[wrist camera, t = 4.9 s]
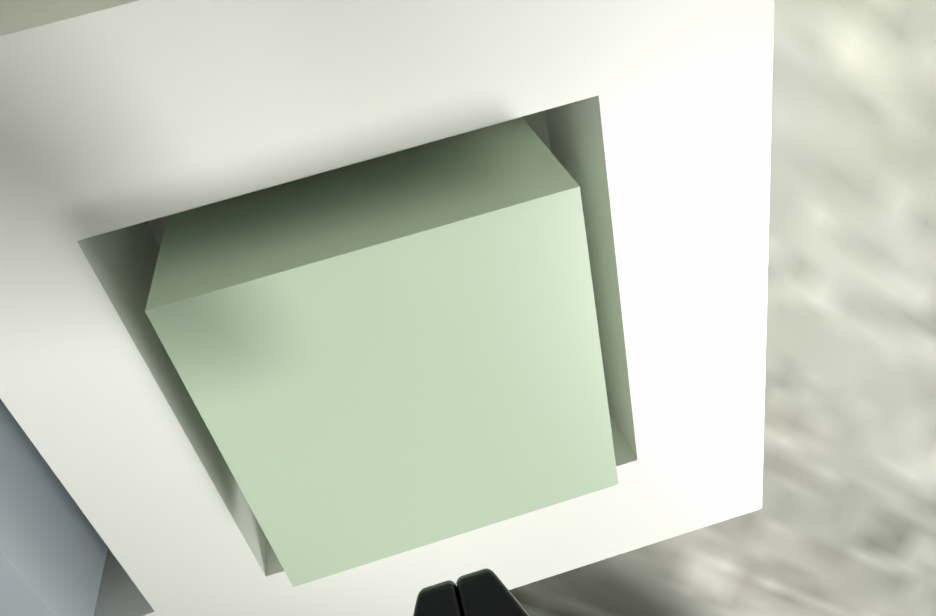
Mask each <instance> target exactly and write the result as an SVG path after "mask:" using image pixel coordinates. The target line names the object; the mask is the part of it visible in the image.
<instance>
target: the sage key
mask: <svg viewBox="0 0 936 616" xmlns="http://www.w3.org/2000/svg"><path fill="white" fill-rule="evenodd" d="M145 312H146V314H147V316H148V318H149V320H150V322H151V324H152V325H153V327H154V329H155V331H156V333H157V335H158V337H159V338H160V340H161V342H162V344H163V346H164V348H165V350H166V352H167V353H168V355H169V357H170V359H171V361H172V363H173V365H174V366H175V368H176V370H177V372H178V374H179V376H180V378H181V379H182V381H183V383H184V385H185V387H186V389H187V391H188V392H189V394H190V396H191V398H192V400H193V402H194V404H195V405H196V407H197V409H198V411H199V413H200V415H201V417H202V418H203V420H204V422H205V424H206V426H207V428H208V430H209V432H210V433H211V435H212V437H213V439H214V441H215V443H216V445H217V446H218V448H219V450H220V452H221V454H222V456H223V458H224V459H225V461H226V463H227V465H228V467H229V469H230V471H231V472H232V474H233V476H234V478H235V480H236V482H237V484H238V485H239V487H240V489H241V491H242V493H243V495H244V497H245V498H246V500H247V502H248V504H249V506H250V508H251V510H252V512H253V513H254V515H255V517H256V519H257V521H258V523H259V525H260V526H261V528H262V530H263V532H264V534H265V536H266V538H267V539H268V541H269V543H270V545H271V547H272V549H273V551H274V552H275V554H276V556H277V558H278V560H279V562H280V564H281V565H282V567H283V569H284V571H285V573H286V575H287V577H288V578H289V580H290V582H291V584H292V586H293V587H295V586H298V585H302V584H305V583H308V582H311V581H314V580H317V579H320V578H324V577H327V576H330V575H333V574H336V573H339V572H343V571H346V570H349V569H352V568H355V567H358V566H362V565H365V564H368V563H371V562H374V561H377V560H381V559H384V558H387V557H390V556H393V555H396V554H400V553H403V552H406V551H409V550H412V549H415V548H419V547H422V546H425V545H428V544H431V543H434V542H438V541H441V540H444V539H447V538H450V537H453V536H457V535H460V534H463V533H466V532H469V531H472V530H476V529H479V528H482V527H485V526H488V525H491V524H495V523H498V522H501V521H504V520H507V519H510V518H513V517H517V516H520V515H523V514H526V513H529V512H532V511H536V510H539V509H542V508H545V507H548V506H551V505H555V504H558V503H561V502H564V501H567V500H570V499H574V498H577V497H580V496H583V495H586V494H589V493H593V492H596V491H599V490H602V489H605V488H608V487H612V486H615V485H618V477H617V469H616V461H615V454H614V446H613V438H612V430H611V423H610V415H609V407H608V400H607V392H606V384H605V377H604V369H603V361H602V353H601V346H600V338H599V330H598V323H597V315H596V307H595V299H594V292H593V284H592V276H591V269H590V261H589V253H588V245H587V238H586V230H585V222H584V215H583V207H582V199H581V192H580V186H579V185H578V184H577V182H576V181H575V180H574V179H573V178H572V176H571V175H570V174H569V173H568V172H567V170H566V169H565V168H564V167H563V166H562V164H561V163H560V162H559V161H558V160H557V159H556V157H555V156H554V155H553V154H552V153H551V151H550V150H549V149H548V148H547V147H546V145H545V144H544V143H543V142H542V141H541V139H540V138H539V137H538V136H537V135H536V133H535V132H534V131H533V130H532V129H531V127H530V126H529V125H528V124H527V123H526V122H525V120H524V119H523V118H522V117H521V118H518V119H514V120H511V121H507V122H504V123H500V124H496V125H493V126H489V127H486V128H482V129H479V130H475V131H471V132H468V133H464V134H461V135H457V136H453V137H450V138H446V139H443V140H439V141H436V142H432V143H428V144H425V145H421V146H418V147H414V148H410V149H407V150H403V151H400V152H396V153H393V154H389V155H385V156H382V157H378V158H375V159H371V160H367V161H364V162H360V163H357V164H353V165H350V166H346V167H342V168H339V169H335V170H332V171H328V172H324V173H321V174H317V175H314V176H310V177H307V178H303V179H299V180H296V181H292V182H289V183H285V184H281V185H278V186H274V187H271V188H267V189H264V190H260V191H256V192H253V193H249V194H246V195H242V196H238V197H235V198H231V199H228V200H224V201H221V202H217V203H213V204H210V205H206V206H203V207H199V208H195V209H192V210H188V211H185V212H181V213H178V214H174V215H170V216H168V217H167V221H166V225H165V229H164V233H163V238H162V242H161V246H160V250H159V254H158V258H157V263H156V267H155V271H154V275H153V279H152V283H151V288H150V292H149V296H148V300H147V304H146V308H145Z"/></svg>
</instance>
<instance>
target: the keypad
mask: <svg viewBox="0 0 936 616" xmlns="http://www.w3.org/2000/svg"><path fill="white" fill-rule="evenodd" d="M773 41H774V0H0V399H1V400H2V402H3V403H4V404H5V406H6V407H7V408H8V410H9V411H10V413H11V414H12V415H13V417H14V418H15V419H16V421H17V422H18V424H19V425H20V426H21V428H22V429H23V431H24V432H25V433H26V435H27V436H28V437H29V439H30V440H31V442H32V443H33V444H34V446H35V447H36V448H37V450H38V451H39V453H40V454H41V455H42V457H43V458H44V459H45V461H46V462H47V464H48V465H49V466H50V468H51V469H52V471H53V472H54V473H55V475H56V476H57V477H58V479H59V480H60V482H61V483H62V484H63V486H64V487H65V488H66V490H67V491H68V493H69V494H70V495H71V497H72V498H73V499H74V501H75V502H76V504H77V505H78V506H79V508H80V509H81V510H82V512H83V513H84V515H85V516H86V517H87V519H88V520H89V522H90V523H91V524H92V526H93V527H94V528H95V530H96V531H97V533H98V534H99V535H100V537H101V538H102V539H103V541H104V542H105V544H106V545H107V546H108V550H107V555H106V560H105V565H104V569H103V574H102V579H101V583H100V588H99V593H98V597H97V602H96V607H95V612H94V616H413V614H414V609H415V604H416V599H417V596H418V594H419V592H420V591H421V590H422V589H423V588H425V587H429V586H432V585H435V584H438V583H441V582H444V581H447V580H451V581H453V582H455V584H456V582H457V579H458V578H459V577H460V576H463V575H466V574H469V573H472V572H475V571H478V570H482V569H485V568H487V569H490V570H492V571H493V572H494V573H495V574H496V575H497V576H498V578H499V579H500V580H501V581H502V582H503V584H504V585H505V586H506V587H507V589H508V590H511V589H514V588H517V587H520V586H523V585H527V584H530V583H533V582H536V581H539V580H542V579H545V578H548V577H551V576H554V575H558V574H561V573H564V572H567V571H570V570H573V569H576V568H579V567H582V566H585V565H589V564H592V563H595V562H598V561H601V560H604V559H607V558H610V557H613V556H616V555H620V554H623V553H626V552H629V551H632V550H635V549H638V548H641V547H644V546H647V545H651V544H654V543H657V542H660V541H663V540H666V539H669V538H672V537H675V536H678V535H682V534H685V533H688V532H691V531H694V530H697V529H700V528H703V527H706V526H709V525H713V524H716V523H719V522H722V521H725V520H728V519H731V518H734V517H737V516H740V515H744V514H747V513H750V512H753V511H756V510H759V509H762V488H763V447H764V406H765V366H766V325H767V284H768V244H769V203H770V162H771V122H772V81H773ZM521 117H522V118H523V119H524V120H525V122H526V123H527V124H528V125H529V126H530V127H531V129H532V130H533V131H534V132H535V133H536V135H537V136H538V137H539V138H540V139H541V141H542V142H543V143H544V144H545V145H546V147H547V148H548V149H549V150H550V151H551V153H552V154H553V155H554V156H555V157H556V159H557V160H558V161H559V162H560V163H561V164H562V166H563V167H564V168H565V169H566V170H567V172H568V173H569V174H570V175H571V176H572V178H573V179H574V180H575V181H576V182H577V184H578V185H579V186H580V192H581V199H582V207H583V215H584V222H585V230H586V238H587V245H588V253H589V261H590V269H591V276H592V284H593V292H594V299H595V307H596V315H597V323H598V330H599V338H600V346H601V353H602V361H603V369H604V377H605V384H606V392H607V400H608V407H609V415H610V423H611V430H612V438H613V446H614V454H615V461H616V469H617V477H618V485H615V486H612V487H608V488H605V489H602V490H599V491H596V492H593V493H589V494H586V495H583V496H580V497H577V498H574V499H570V500H567V501H564V502H561V503H558V504H555V505H551V506H548V507H545V508H542V509H539V510H536V511H532V512H529V513H526V514H523V515H520V516H517V517H513V518H510V519H507V520H504V521H501V522H498V523H495V524H491V525H488V526H485V527H482V528H479V529H476V530H472V531H469V532H466V533H463V534H460V535H457V536H453V537H450V538H447V539H444V540H441V541H438V542H434V543H431V544H428V545H425V546H422V547H419V548H415V549H412V550H409V551H406V552H403V553H400V554H396V555H393V556H390V557H387V558H384V559H381V560H377V561H374V562H371V563H368V564H365V565H362V566H358V567H355V568H352V569H349V570H346V571H343V572H339V573H336V574H333V575H330V576H327V577H324V578H320V579H317V580H314V581H311V582H308V583H305V584H302V585H298V586H295V587H293V586H292V584H291V582H290V580H289V578H288V577H287V575H286V573H285V571H284V569H283V567H282V565H281V564H280V562H279V560H278V558H277V556H276V554H275V552H274V551H273V549H272V547H271V545H270V543H269V541H268V539H267V538H266V536H265V534H264V532H263V530H262V528H261V526H260V525H259V523H258V521H257V519H256V517H255V515H254V513H253V512H252V510H251V508H250V506H249V504H248V502H247V500H246V498H245V497H244V495H243V493H242V491H241V489H240V487H239V485H238V484H237V482H236V480H235V478H234V476H233V474H232V472H231V471H230V469H229V467H228V465H227V463H226V461H225V459H224V458H223V456H222V454H221V452H220V450H219V448H218V446H217V445H216V443H215V441H214V439H213V437H212V435H211V433H210V432H209V430H208V428H207V426H206V424H205V422H204V420H203V418H202V417H201V415H200V413H199V411H198V409H197V407H196V405H195V404H194V402H193V400H192V398H191V396H190V394H189V392H188V391H187V389H186V387H185V385H184V383H183V381H182V379H181V378H180V376H179V374H178V372H177V370H176V368H175V366H174V365H173V363H172V361H171V359H170V357H169V355H168V353H167V352H166V350H165V348H164V346H163V344H162V342H161V340H160V338H159V337H158V335H157V333H156V331H155V329H154V327H153V325H152V324H151V322H150V320H149V318H148V316H147V314H146V312H145V308H146V304H147V300H148V296H149V292H150V288H151V283H152V279H153V275H154V271H155V267H156V263H157V258H158V254H159V250H160V246H161V242H162V238H163V233H164V229H165V225H166V221H167V217H168V216H170V215H174V214H178V213H181V212H185V211H188V210H192V209H195V208H199V207H203V206H206V205H210V204H213V203H217V202H221V201H224V200H228V199H231V198H235V197H238V196H242V195H246V194H249V193H253V192H256V191H260V190H264V189H267V188H271V187H274V186H278V185H281V184H285V183H289V182H292V181H296V180H299V179H303V178H307V177H310V176H314V175H317V174H321V173H324V172H328V171H332V170H335V169H339V168H342V167H346V166H350V165H353V164H357V163H360V162H364V161H367V160H371V159H375V158H378V157H382V156H385V155H389V154H393V153H396V152H400V151H403V150H407V149H410V148H414V147H418V146H421V145H425V144H428V143H432V142H436V141H439V140H443V139H446V138H450V137H453V136H457V135H461V134H464V133H468V132H471V131H475V130H479V129H482V128H486V127H489V126H493V125H496V124H500V123H504V122H507V121H511V120H514V119H518V118H521ZM456 586H457V585H456Z"/></svg>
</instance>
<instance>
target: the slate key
mask: <svg viewBox="0 0 936 616" xmlns="http://www.w3.org/2000/svg"><path fill="white" fill-rule="evenodd" d="M107 550H108V546H107V545H106V544H105V542H104V541H103V539H102V538H101V537H100V535H99V534H98V533H97V531H96V530H95V528H94V527H93V526H92V524H91V523H90V522H89V520H88V519H87V517H86V516H85V515H84V513H83V512H82V510H81V509H80V508H79V506H78V505H77V504H76V502H75V501H74V499H73V498H72V497H71V495H70V494H69V493H68V491H67V490H66V488H65V487H64V486H63V484H62V483H61V482H60V480H59V479H58V477H57V476H56V475H55V473H54V472H53V471H52V469H51V468H50V466H49V465H48V464H47V462H46V461H45V459H44V458H43V457H42V455H41V454H40V453H39V451H38V450H37V448H36V447H35V446H34V444H33V443H32V442H31V440H30V439H29V437H28V436H27V435H26V433H25V432H24V431H23V429H22V428H21V426H20V425H19V424H18V422H17V421H16V419H15V418H14V417H13V415H12V414H11V413H10V411H9V410H8V408H7V407H6V406H5V404H4V403H3V402H2V400H1V399H0V616H94V612H95V607H96V602H97V597H98V593H99V588H100V583H101V579H102V574H103V569H104V565H105V560H106V555H107Z"/></svg>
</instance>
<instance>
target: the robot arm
mask: <svg viewBox="0 0 936 616" xmlns="http://www.w3.org/2000/svg"><path fill="white" fill-rule="evenodd" d="M456 585H457V586H456ZM413 616H530V615H529V614H528V613H527V612H526V611H525V609H524V608H523V607H522V606H521V604H520V603H519V602H518V601H517V600H516V598H515V597H514V596H513V595H512V593H511V592H510V591H509V590H508V589H507V587H506V586H505V585H504V584H503V582H502V581H501V580H500V579H499V578H498V576H497V575H496V574H495V573H494V572H493V571H492V570H490V569H487V568H485V569H482V570H478V571H475V572H472V573H469V574H466V575H463V576H460V577H459V578H458V579H457V582H456V584H455V582H453V581H451V580H447V581H444V582H441V583H438V584H435V585H432V586H429V587H425V588H423V589H422V590H421V591H420V592H419V594H418V596H417V599H416V604H415V609H414V614H413Z"/></svg>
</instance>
